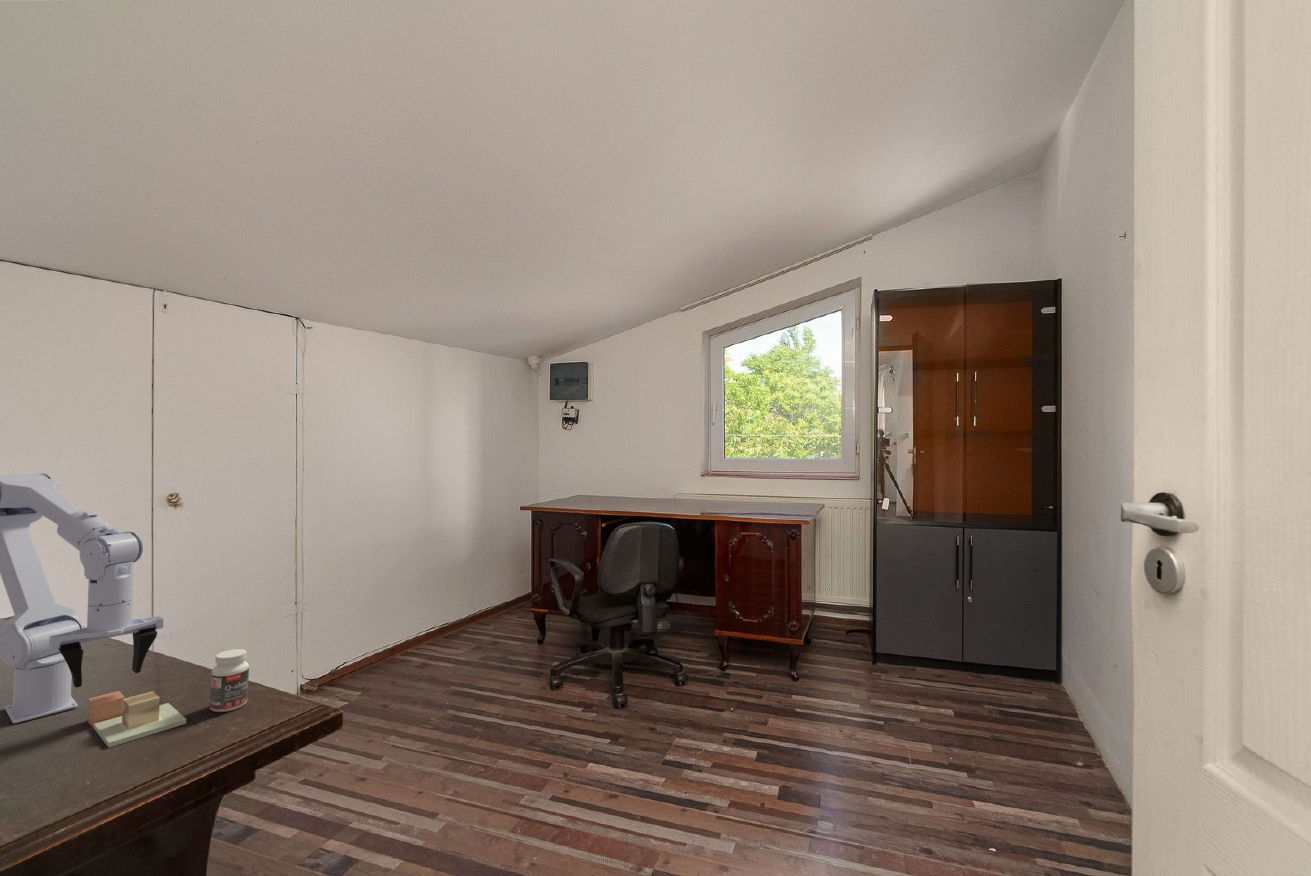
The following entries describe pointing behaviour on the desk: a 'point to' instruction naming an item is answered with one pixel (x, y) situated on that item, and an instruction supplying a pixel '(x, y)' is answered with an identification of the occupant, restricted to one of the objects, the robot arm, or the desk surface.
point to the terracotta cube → (105, 707)
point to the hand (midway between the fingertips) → (107, 678)
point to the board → (118, 733)
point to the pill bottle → (229, 681)
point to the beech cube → (140, 710)
